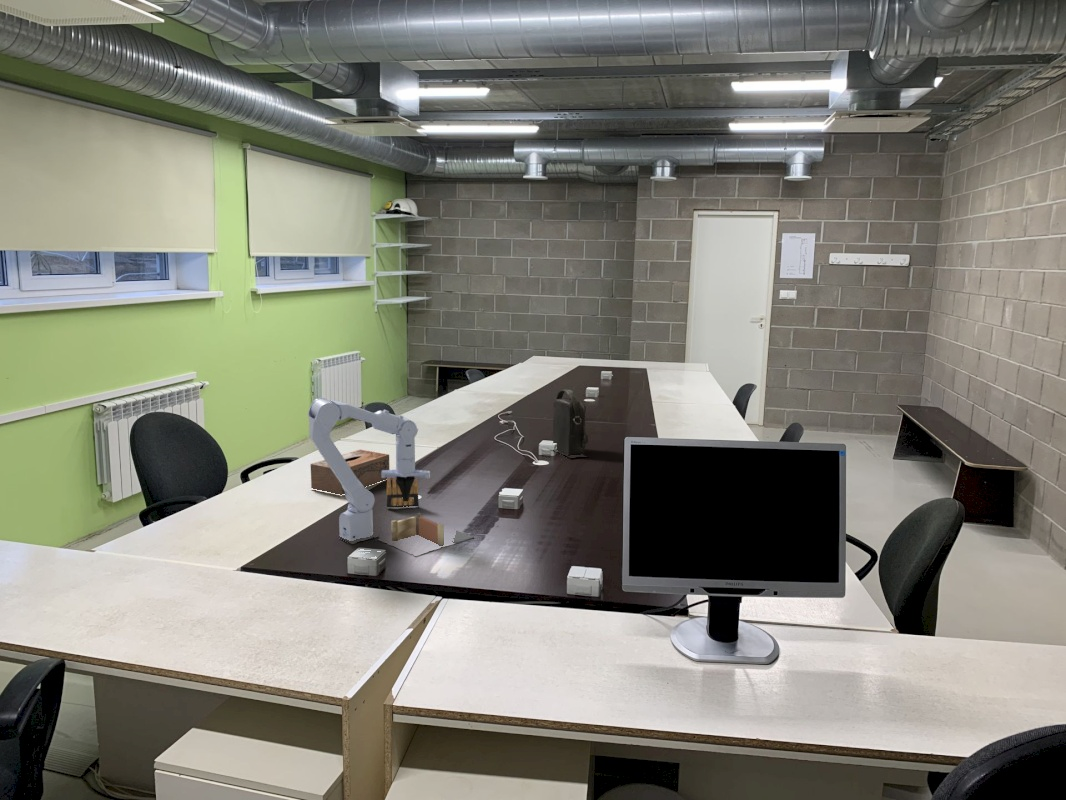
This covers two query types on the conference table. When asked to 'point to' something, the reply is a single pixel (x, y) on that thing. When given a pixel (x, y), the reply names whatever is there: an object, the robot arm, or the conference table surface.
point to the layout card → (461, 537)
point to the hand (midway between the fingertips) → (406, 500)
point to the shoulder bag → (569, 424)
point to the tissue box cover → (360, 462)
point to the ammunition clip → (396, 494)
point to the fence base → (405, 528)
